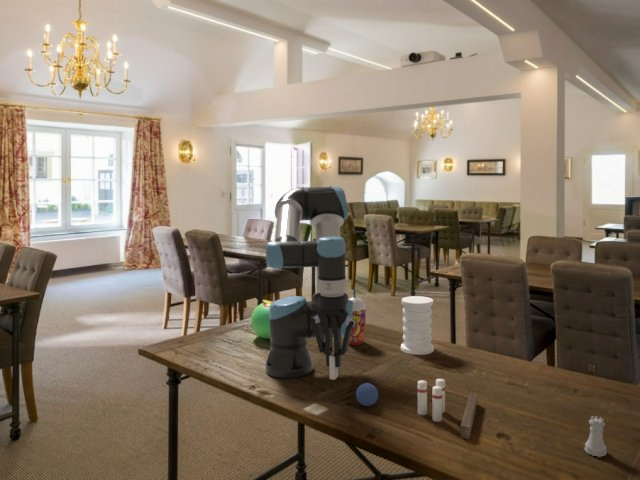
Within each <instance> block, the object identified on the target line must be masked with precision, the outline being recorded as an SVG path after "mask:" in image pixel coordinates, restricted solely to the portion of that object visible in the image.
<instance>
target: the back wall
mask: <svg viewBox="0 0 640 480" xmlns="http://www.w3.org/2000/svg"><path fill="white" fill-rule="evenodd" d="M477 406H478V393H476V392H475V393H474V392H469V394H468V398H467V401H466V404H465V408H464V413H463V416H462V419H461V424H460V439H466V440H470V437H471V433H472V428H473V424H474V420H475V416H476V410H477Z"/></svg>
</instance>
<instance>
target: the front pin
mask: <svg viewBox="0 0 640 480" xmlns="http://www.w3.org/2000/svg"><path fill="white" fill-rule="evenodd" d="M427 414H428V381H426V380H424V379H420V380H418V381H417V415H420V416H426V415H427Z"/></svg>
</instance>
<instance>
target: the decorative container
mask: <svg viewBox="0 0 640 480" xmlns="http://www.w3.org/2000/svg"><path fill="white" fill-rule="evenodd" d="M401 305H403V308H402V314H403V317H402V322H403V326H402V331H403V335H402V340H403V342H402V343H401V344H400V351H402V353H405V354H408V355H415V356H423V355H425V356H426V355H429V354H432V353H434V350H435V346H434V345H433V343H432V340H433V337H432V330H433V328H432V323H433V319H432V314H433V309H432V306H433V305H434V299H433V298H431V297H428V296H423V295H422V296H421V295H413V296H412V295H411V296H404V297H402V298H401Z"/></svg>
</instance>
